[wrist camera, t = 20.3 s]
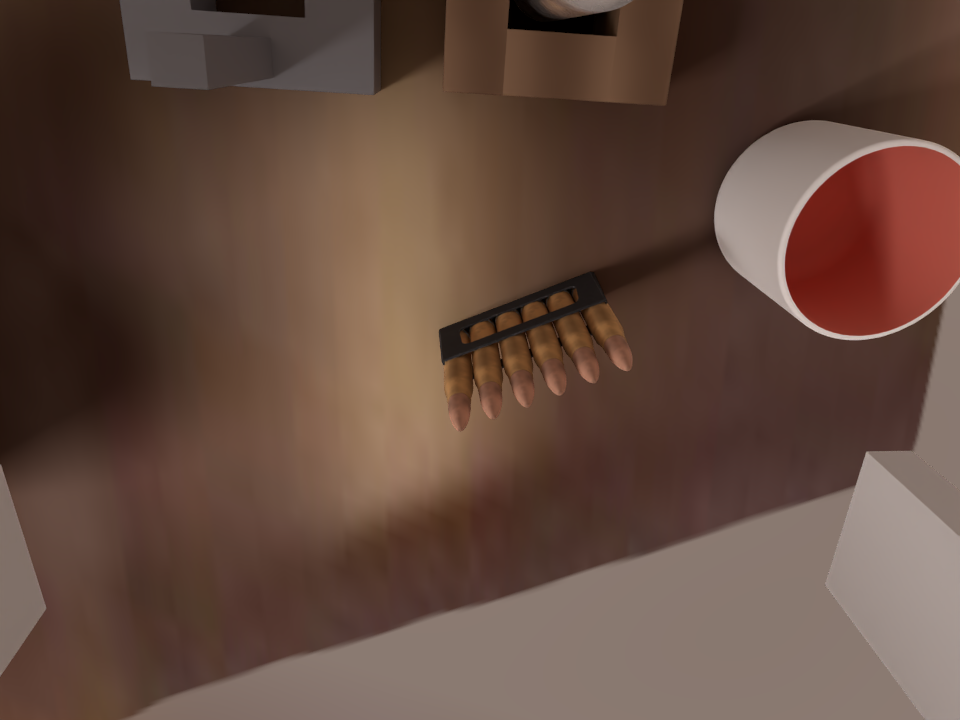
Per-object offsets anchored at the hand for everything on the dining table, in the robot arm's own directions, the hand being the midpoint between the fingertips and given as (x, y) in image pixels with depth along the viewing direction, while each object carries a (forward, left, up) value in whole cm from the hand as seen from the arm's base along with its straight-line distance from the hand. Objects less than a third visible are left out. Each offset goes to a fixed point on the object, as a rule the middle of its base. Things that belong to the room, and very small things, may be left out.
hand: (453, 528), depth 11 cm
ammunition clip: (+5, -9, -33) cm, 34 cm away
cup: (+21, -1, -33) cm, 39 cm away
